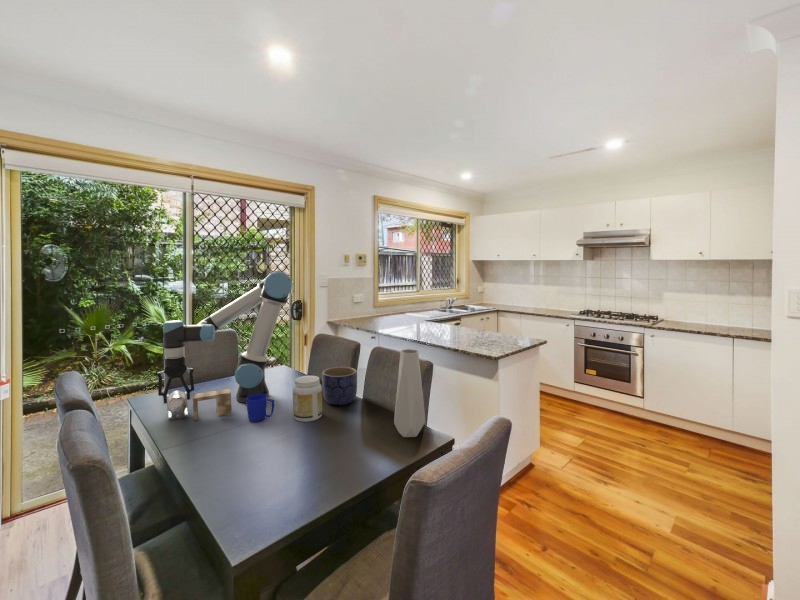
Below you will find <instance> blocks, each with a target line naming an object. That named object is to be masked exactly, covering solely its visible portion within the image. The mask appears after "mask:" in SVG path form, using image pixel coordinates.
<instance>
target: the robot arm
mask: <svg viewBox="0 0 800 600" xmlns="http://www.w3.org/2000/svg"><path fill="white" fill-rule="evenodd" d="M292 288H293V282H292V279H291V277H290V276H289V274H287V273H286V272H284V271H281V270H275V271H272V272H270V273H268V274H267V275H266V277H265V278H264V279H263V280H261V281H260V282H258V283H257V285H256V287H254V288H253V289H250V290H249V291H247V292H246V293H245V294H243V295H241V296H240V297H237V298H236V299H235V300H233V301H231V302H230V303H228V304H226V305H225V306H223V307H221V308H220V309H218V310H217V311H215V312H214V313H212V314H211V315H209V316H207V317H206V318H204V319H202V320H200V321H198V323H197V324H185V323H184V321H183V320H178V319H177V320H168V321H165V322H164V323H163V326H162V327H163V330H162V331H163V332H162V333H163V352H164V357H165V358H164V370H162V371H158V372H157V371H156V372H157V373H156V375H157V378H158V396H159V397H161V396H162V397H163V404H166V407H167V409H166V411H167V412H169V396H170V394H169V393H168V392H169V389H170V386H171V383H172V380H173V379H180V380H181V384H182V385H183V387H184V389H185V391H184V395H185V404H186V408H187V409H188V407H189V406H188V400H191V392H193V391H195V385H194V384H195V383H194V377H193V373H194V368H193V367H187V366H186V356H185V355H186V349H185V348H186V347H185V343H203V342H204V343H208V342H213V341H214V340H215V338H216V332H217V331H219V330H220V329H222V328H223V327H225V326H226V325H229V323H231V322H233V321H234V320H236V319H237V318H239V317H241V316H242V315H244V314H246V313H247V312H249V311H250V310H252V309H253V308H256V307H257V306H259V305H260V308H259V310H258V314H257V316H256V320H255V323H254V326H253V329H252V332H251V336H250V339H249V342H248V344H247V348H246V351H243V352H239V354H238V357H237V359H238V364H237V367H236V369H235V371H234V379H235V381H236V383H237V385H238V386H237V392H236V394H235V399H236V402H239V403H245V404H247V403H246V397H247V396H249V395H253V394H265V395H267V399H269V397H270V392H269V391H270V390H269V388H268V385H267V383H266V375H265V374H266V372H265V370H266V367H267V364H268V363H267V362H268V358H267V356H266V355H267V353H268V350H269V346H270V342H271V340H272V337H273V333H274V329H275V327H276V325H277V321H278V319H279V318H278V317H279V315H280V311H281V309H282V306H284V305H286V304H287V300H288V298H289V295H290V293H291V291H292ZM186 372H187V373H188V375H189V383H190V387H189V385H188V384H187V381H186V379H185V376H184V374H185V373H186ZM164 374H165V375H166V376H167V380H166V381H167V382H166V384H165V388H164V391H163V377H164Z"/></svg>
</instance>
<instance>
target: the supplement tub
mask: <svg viewBox="0 0 800 600" xmlns="http://www.w3.org/2000/svg"><path fill="white" fill-rule="evenodd" d="M292 406H293V407H292V410H293V414H292V415H293V418H294V420H296V421H298V422H301V423H302V422H303V423H305V422H307V423H308V422H313V421H317V420H318V419H320V418H321V417H322V415H323V387H322V384H321V381H320V377H319V376H316V375H302V376H298V377H296V378H295V379H294V385H293V388H292Z"/></svg>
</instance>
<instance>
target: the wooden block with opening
mask: <svg viewBox="0 0 800 600" xmlns="http://www.w3.org/2000/svg"><path fill="white" fill-rule="evenodd" d="M208 400H215V405H216V406H215V407H216V410H215V411H216V413H217V416H218V417H219V416H225V415H231V414H232V413H233V412H232V392H231V390H230V388H225V389H219V390H218V389H217V390H212V391H205V392H204V391H203V392H200V393H194V394H192V410H193V411H192V413H193V419H194V421H198V420H199V403H198V402H202V401H208Z"/></svg>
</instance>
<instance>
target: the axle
mask: <svg viewBox="0 0 800 600" xmlns="http://www.w3.org/2000/svg"><path fill="white" fill-rule="evenodd" d="M185 408H186V404H185V392H184V391H182V390H178V389H177V390H174V391H172V392H171V393H170V394H169V411H170V412H171V413H172V414H174V415H178V414H181V413H183V412H184V410H185ZM169 411H168V412H169Z"/></svg>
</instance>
